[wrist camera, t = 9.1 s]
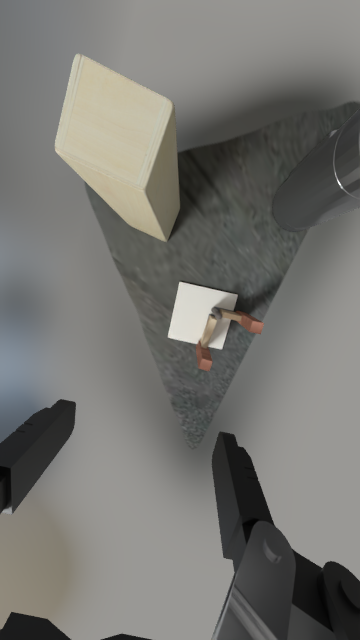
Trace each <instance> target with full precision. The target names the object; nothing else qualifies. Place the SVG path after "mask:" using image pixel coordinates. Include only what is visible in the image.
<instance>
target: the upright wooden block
mask: <svg viewBox="0 0 360 640" xmlns="http://www.w3.org/2000/svg"><path fill="white" fill-rule="evenodd" d="M55 150H56V152H57V153H58V154H59V155H60V156H61V157H62V158H63V159H64V160H65V161H66V162H67V163H68V164H69V165H70V166H71V167H72V168H73V169H74V170H75V171H76V172H77V173H78V174H79V175H80V176H81V177H82V178H83V179H84V180H85V181H86V182H87V183H88V184H89V185H90V186H91V187H92V188H93V189H94V190H95V191H96V192H97V193H98V194H99V195H100V196H101V197H102V198H103V199H104V200H105V201H106V202H107V203H108V204H109V205H110V206H111V207H112V208H113V209H114V210H115V211H116V212H117V213H118V214H119V215H120V216H121V217H122V218H123V219H124V220H125V221H126V222H127V223H128V224H129V225H130V226H132V227H134V228H136V229H138V230H140V231H143V232H145V233H147V234H149V235H151V236H154V237H156V238H158V239H160V240H163V241H165V242H167V241H168V238H169V236H170V233H171V231H172V228H173V226H174V223H175V220H176V218H177V215H178V213H179V210H180V196H179V178H178V159H177V140H176V119H175V107H174V103H173V102H172V101H170V100H169V99H167V98H166V97H164V96H162V95H160V94H158V93H156V92H154V91H152V90H150V89H148V88H146V87H144V86H142V85H140V84H138V83H136V82H134V81H132V80H130V79H128V78H126V77H124V76H123V75H121V74H119V73H117V72H115V71H113V70H111V69H109V68H107V67H105V66H103V65H101V64H99V63H97V62H96V61H94V60H92V59H90V58H88V57H86V56H84V55H81V54H76V56H75V58H74V61H73V65H72V70H71V74H70V78H69V83H68V88H67V92H66V97H65V101H64V105H63V109H62V114H61V118H60V123H59V127H58V131H57V136H56V141H55Z"/></svg>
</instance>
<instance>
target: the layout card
mask: <svg viewBox="0 0 360 640" xmlns="http://www.w3.org/2000/svg"><path fill="white" fill-rule="evenodd" d="M237 297H238V295H236V294H232V293H227V292H223V291H219V290H214V289H210V288H205V287H201V286H196V285H192V284H188V283H183V282H180V283H179V288H178V292H177V297H176V301H175V306H174V311H173V315H172V320H171V325H170V329H169V334H168V338H172V339H176V340H181V341H186V342H190V343H195V344H197V343H198V340H199V341H200V340H201V338H202V335H203V332H204V329H205V326H206V324H207V321H208V318H209V315H211V316H214V317H215V318H216V316H215V315H214V314H213V312H212V311H211V309H212V308H213V307H214V308H216V309H217V310H218V311H219V310H220V309H223V310H228V311H232V312H233V310H234V307H235V304H236V300H237ZM216 319H217V318H216ZM230 321H231V319H227V318H221V319H217V322H216V325H215V327H214V330H213V333H212V335H211V338H210V341H209V344H208V347H213V348H217V349H222V348H223V345H224V341H225V338H226V334H227V331H228V328H229V324H230Z"/></svg>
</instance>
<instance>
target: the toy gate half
mask: <svg viewBox="0 0 360 640" xmlns="http://www.w3.org/2000/svg"><path fill="white" fill-rule="evenodd" d="M216 322H217V319H216V318H215V317H214V316H211V315H209V318H208V321H207V324H206V326H205V329H204V332H203V335H202V338H201V340H200V341H199V340H198V343H197V346H196V353H197V360H198V367H199V368H200V369H203V370H206V371H209V370H210V367H211V365H212V358H211V355H210V352H209V349H208V344H209V341H210V338H211V335H212V333H213V330H214V327H215V325H216Z"/></svg>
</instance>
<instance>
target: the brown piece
mask: <svg viewBox="0 0 360 640" xmlns="http://www.w3.org/2000/svg"><path fill="white" fill-rule="evenodd" d="M211 311H212V312H213V314H214V315H215V316H216V318H217V319H221V318H227V319H231V320H236V321H237V322H238V323H240V324H241V325H242V326H243V327H244V328H246V329H247V330H248V331H249V332H253V333H257V334H261V331H262V328H263V325H264V323H263V322H261V321H259V320H257V319H256V318H254V317H252V316H251V315H249V314H247V313H245V312H241V311H236V312H232V311H228V310H223V309H220V310H219V311H218V310H217V309H216V308H214V307H213V308H212V309H211Z"/></svg>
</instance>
